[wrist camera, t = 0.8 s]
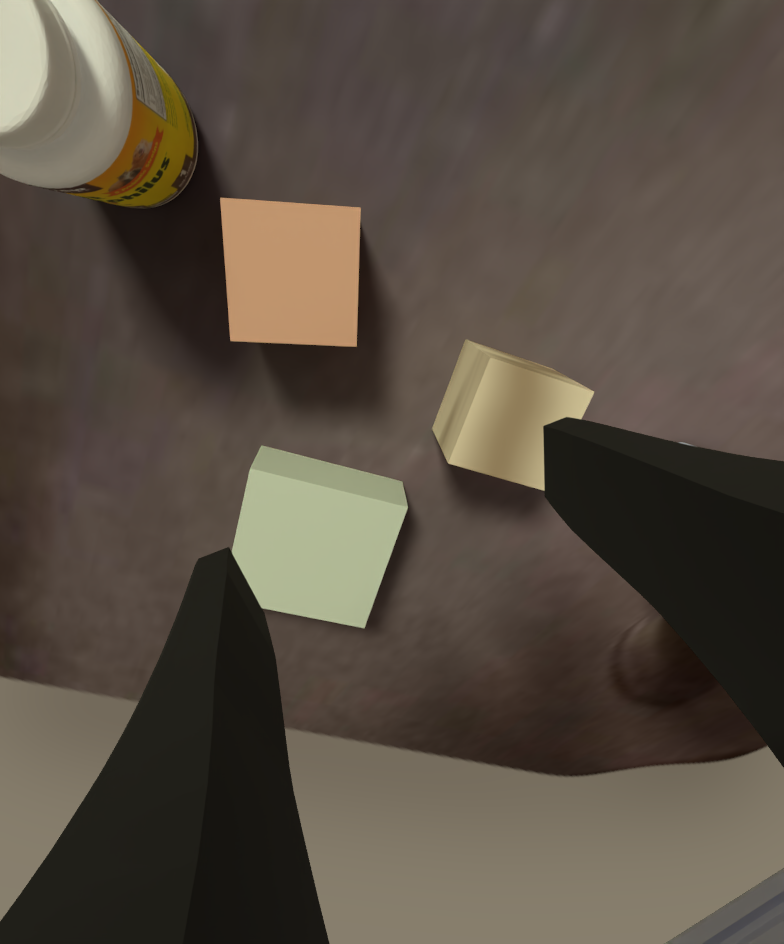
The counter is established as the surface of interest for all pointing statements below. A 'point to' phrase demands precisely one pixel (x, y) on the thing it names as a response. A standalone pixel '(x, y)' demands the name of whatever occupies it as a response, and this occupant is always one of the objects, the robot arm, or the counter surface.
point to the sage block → (316, 536)
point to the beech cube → (503, 413)
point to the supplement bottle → (89, 107)
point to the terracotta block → (291, 272)
